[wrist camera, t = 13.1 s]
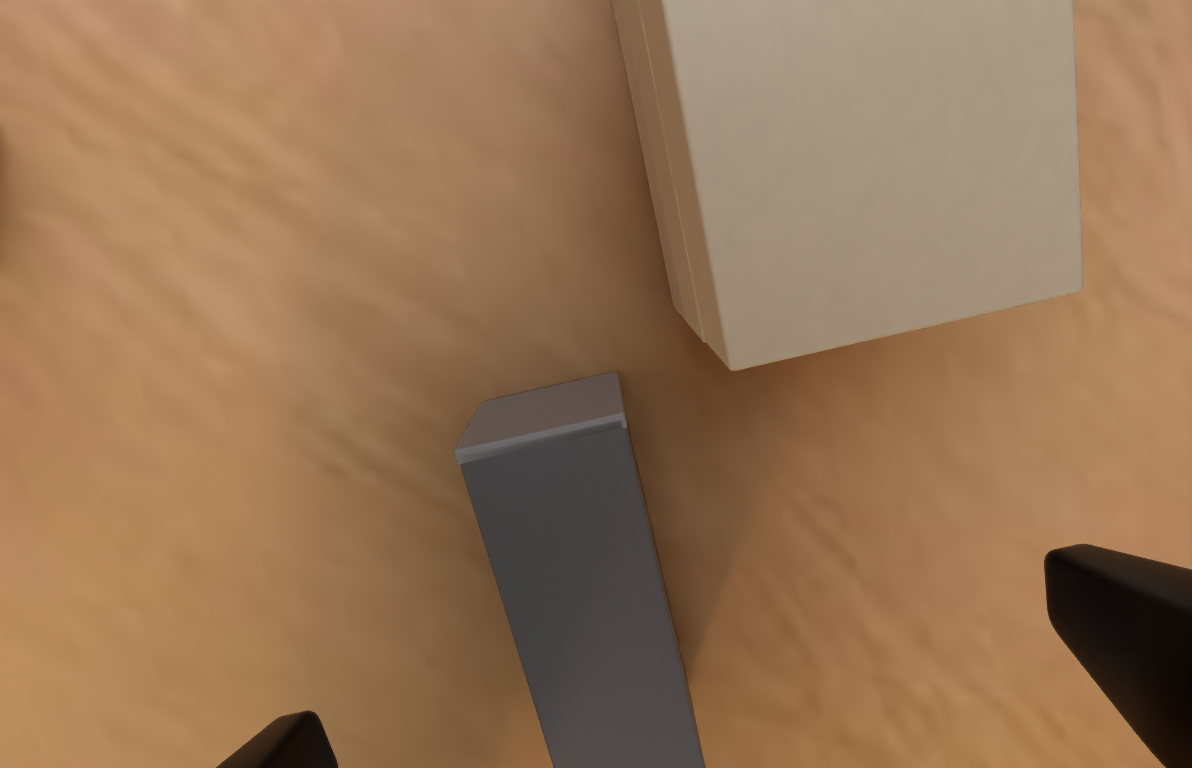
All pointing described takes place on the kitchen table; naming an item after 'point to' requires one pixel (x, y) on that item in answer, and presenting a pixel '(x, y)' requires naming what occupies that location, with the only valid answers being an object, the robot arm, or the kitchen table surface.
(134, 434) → the kitchen table surface
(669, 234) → the navy and tan block
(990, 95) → the cream book
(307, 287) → the kitchen table surface
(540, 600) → the dark grey block
